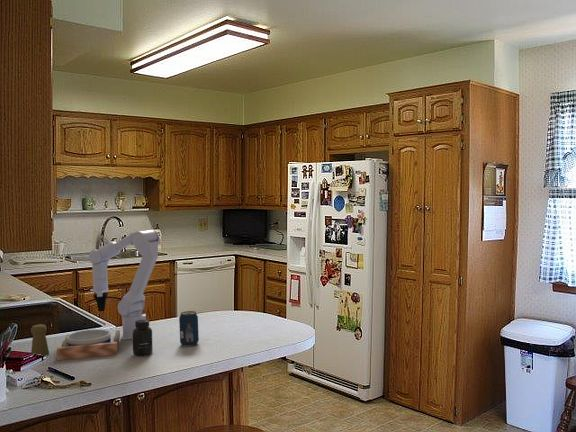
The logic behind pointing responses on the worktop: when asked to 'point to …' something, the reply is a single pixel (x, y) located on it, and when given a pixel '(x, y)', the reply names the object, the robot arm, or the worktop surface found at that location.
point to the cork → (39, 340)
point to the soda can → (188, 328)
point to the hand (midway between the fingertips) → (101, 311)
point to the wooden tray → (88, 349)
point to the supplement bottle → (142, 338)
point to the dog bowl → (89, 337)
